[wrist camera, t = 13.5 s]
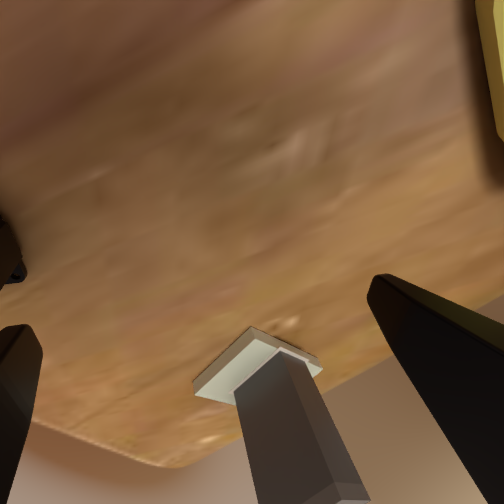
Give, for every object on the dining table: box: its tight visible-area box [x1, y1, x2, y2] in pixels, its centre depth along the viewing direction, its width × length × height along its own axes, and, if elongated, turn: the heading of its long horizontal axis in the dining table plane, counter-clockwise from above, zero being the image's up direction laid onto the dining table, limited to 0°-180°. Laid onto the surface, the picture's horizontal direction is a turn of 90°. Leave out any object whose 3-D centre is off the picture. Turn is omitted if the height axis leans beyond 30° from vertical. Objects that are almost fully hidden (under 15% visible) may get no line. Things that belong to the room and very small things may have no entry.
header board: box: [193, 327, 323, 405], centre depth 31 cm, size 11×9×4 cm
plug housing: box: [234, 351, 371, 504], centre depth 26 cm, size 4×7×12 cm, turn 136°
